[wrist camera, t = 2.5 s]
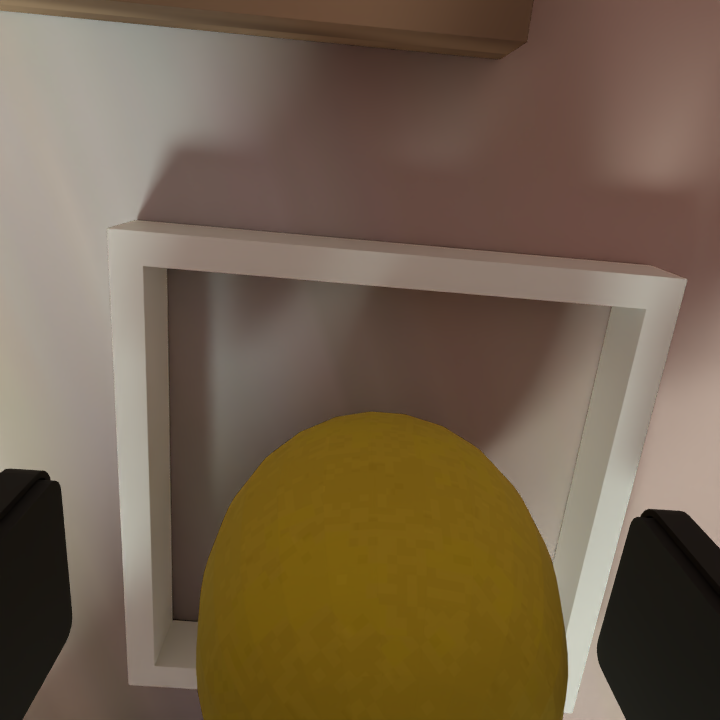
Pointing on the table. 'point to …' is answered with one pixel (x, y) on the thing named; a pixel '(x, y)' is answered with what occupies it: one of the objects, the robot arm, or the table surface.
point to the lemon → (380, 585)
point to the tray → (324, 20)
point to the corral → (386, 269)
